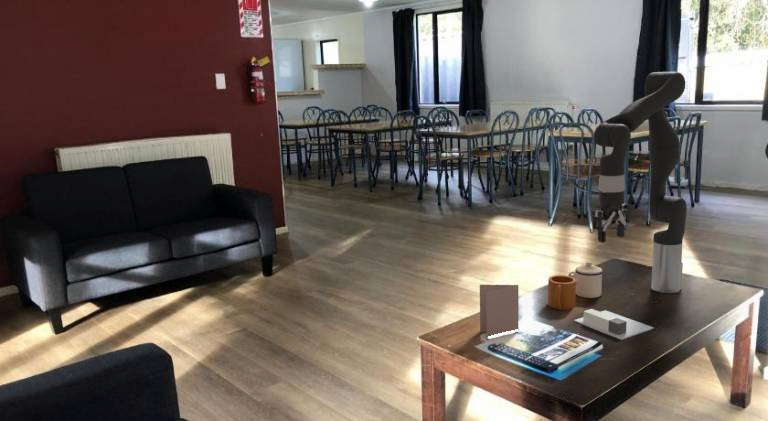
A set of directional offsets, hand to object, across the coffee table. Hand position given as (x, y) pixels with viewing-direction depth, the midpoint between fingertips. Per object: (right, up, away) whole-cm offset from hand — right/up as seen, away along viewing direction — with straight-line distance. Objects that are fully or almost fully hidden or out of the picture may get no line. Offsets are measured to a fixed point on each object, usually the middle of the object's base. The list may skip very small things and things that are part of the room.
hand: (611, 239), depth 199 cm
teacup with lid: (-1, -20, +23) cm, 31 cm away
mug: (-13, -23, +12) cm, 29 cm away
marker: (-5, -26, -7) cm, 27 cm away
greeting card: (-37, -29, -9) cm, 48 cm away
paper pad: (-1, -26, -5) cm, 27 cm away
